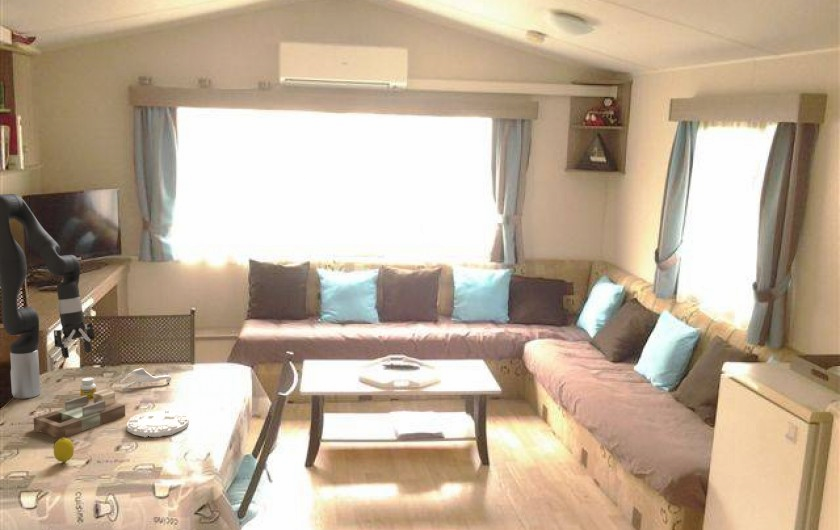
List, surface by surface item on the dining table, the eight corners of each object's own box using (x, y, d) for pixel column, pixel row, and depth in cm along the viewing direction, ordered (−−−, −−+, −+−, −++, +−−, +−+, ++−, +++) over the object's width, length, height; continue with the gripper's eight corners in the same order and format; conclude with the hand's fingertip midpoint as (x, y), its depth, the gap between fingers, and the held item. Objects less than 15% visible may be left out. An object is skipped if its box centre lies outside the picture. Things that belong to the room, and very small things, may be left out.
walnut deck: (34, 429, 250) (32, 409, 248) (99, 407, 271) (98, 389, 270) (60, 438, 243) (58, 418, 241) (125, 415, 264) (124, 396, 263)
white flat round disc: (200, 422, 262) (200, 414, 261) (163, 442, 243) (163, 434, 243) (152, 413, 268) (152, 405, 267) (113, 432, 249) (113, 424, 249)
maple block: (93, 403, 263) (93, 393, 263) (106, 399, 268) (105, 389, 267) (102, 406, 261) (102, 395, 260) (115, 402, 265) (114, 392, 264)
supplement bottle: (95, 400, 278) (94, 375, 276) (98, 405, 273) (97, 380, 272) (79, 403, 275) (78, 378, 273) (82, 407, 270) (81, 382, 269)
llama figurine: (129, 403, 293) (173, 382, 299) (116, 379, 289) (161, 358, 295) (129, 402, 294) (172, 380, 300) (116, 378, 291) (160, 356, 297)
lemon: (58, 458, 228) (57, 434, 227) (77, 458, 229) (76, 433, 227) (51, 466, 223) (49, 441, 221) (70, 466, 223) (69, 441, 222)
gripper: (82, 307, 277) (88, 350, 278) (46, 314, 265) (52, 359, 266) (94, 307, 273) (101, 350, 274) (58, 314, 261) (65, 359, 262)
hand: (77, 354), depth 270 cm, fingers open, 8 cm apart
